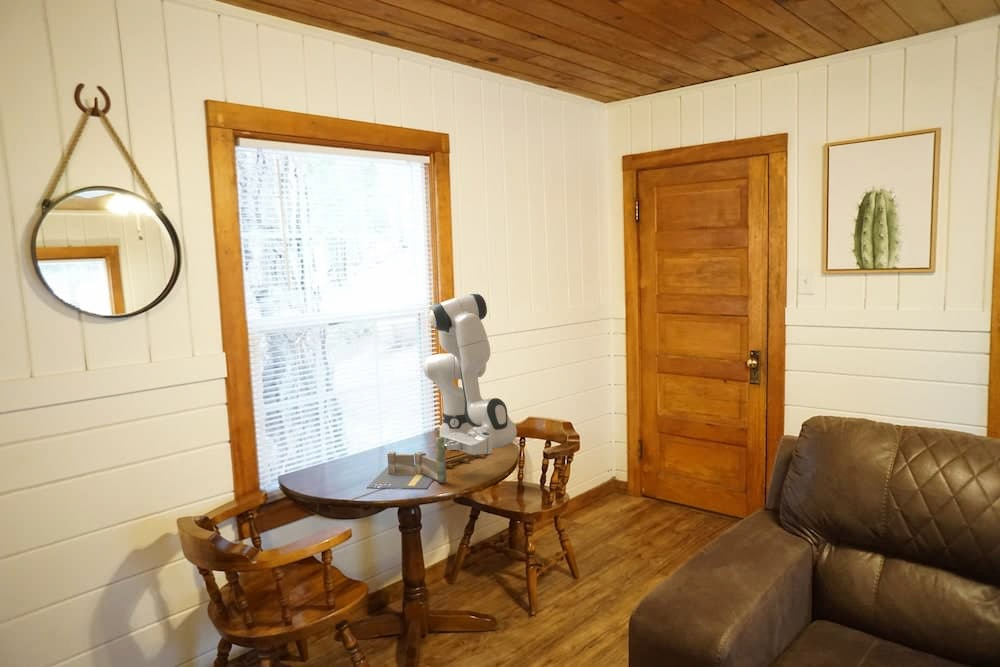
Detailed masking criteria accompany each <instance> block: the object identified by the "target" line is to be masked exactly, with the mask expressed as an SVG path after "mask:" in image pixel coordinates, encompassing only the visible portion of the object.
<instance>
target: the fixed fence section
mask: <svg viewBox="0 0 1000 667" xmlns="http://www.w3.org/2000/svg"><path fill="white" fill-rule="evenodd" d="M386 454H387V467H388V474H395V473H415V453H413V454H408V453H406V454H403V453H402V454H397V452H396V451H389V452H388V453H386Z"/></svg>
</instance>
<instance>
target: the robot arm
mask: <svg viewBox="0 0 1000 667" xmlns="http://www.w3.org/2000/svg"><path fill="white" fill-rule="evenodd" d="M487 307H488V306H487V303H486V300H485V299H484V297H483V296H482V295H481V294H479V293H470V294H469V295H462V296H456V297H454V298H450V299H447V300H444V301H442V302H437V303H436V304H433V305H432V306H431V307H430V309H429V321H430V323H431V325H432V326H433V328H434V329H435V330H437V331H438V340H439V341H438V342H439V346H440V347H441V348H442V350H444V352H446V353H436V354H433V355H432V354H431V355H428V356H427V357H426V358H425V359H424V362H423V373H424V374H425V376H426V378H428V379H429V380H430V381H432V382H433V383H434V384H435V385H436V386H437V388H438V390H439V391H440V394H441V397H442V408H443V413H442V424H441V425H440V426H439V437H444V438H445V451H453V450H454V451H456V450H457V451H461V452H466V453H469V454H472V455H479V454H483V455H485V454H489V455H490V454H493V449H497V448H501V447H504V446H508V445H510V444H511V443H512V442H514V441H515V439H516V437H517V433H518V431H517V426H516V424H515V422H513V421H512V419H510V417H509V414H508V408H507V405H506V404H505V402H504V401H503V400H502V399H500V398H497V397H493V398H487V399H484V398H482V396H481V391H480V385H479V378H481V377H482V376H483V375H484V374H485V373H486V370H487V364H488V362H489V360H490V358H491V347H490V341H489V339H488V338H489V337H488V335H487V331H486V329H485V327H484V324H483V321H482V320H483V319H485V318H486V316H487V314H488V308H487ZM457 380H461V383H462V387H459V385H457V384H456V383H455V382H454V381H457Z"/></svg>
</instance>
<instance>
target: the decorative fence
mask: <svg viewBox="0 0 1000 667" xmlns="http://www.w3.org/2000/svg"><path fill="white" fill-rule="evenodd" d="M474 456H477V457H476V458H478V457H482V458H481V459H485V458H486V455H485V454H479V455H472V454H469V453H466V452H463V451H461V452H459V453H454V454H451V455H447V456H445V459H446V468H448V469H449V468H450V469H451V468H453V464H452V463H455V462H460V463H466V464H470V459H469V458H470V457H471V458H472V457H474ZM484 457H485V458H484ZM435 460H437V458H436V459H435Z"/></svg>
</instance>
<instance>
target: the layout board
mask: <svg viewBox="0 0 1000 667" xmlns="http://www.w3.org/2000/svg"><path fill="white" fill-rule="evenodd" d="M434 480H435V479H434V478H431V477H429V476H427V475H424V474H418V473H416V472H415V473H395V474H388V466H386V467H385V469H383V471H382V472H380V473H379V475H378V476H377V477H375V479H374V480H372V481H371V482H370V483H369V484H368V485H367V486H366V489H367V488H374V487H375V486H376V487H375V488H377V487H378V486H381V487H380V488H402V489H401V490H428V488H429V486H430V485H431V484H432V483H433V481H434ZM375 484H377V485H378V486H377V485H375ZM379 484H382V485H383V486H382V485H379ZM384 484H386V485H384ZM389 484H391V485H390V486H388V485H389Z"/></svg>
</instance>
